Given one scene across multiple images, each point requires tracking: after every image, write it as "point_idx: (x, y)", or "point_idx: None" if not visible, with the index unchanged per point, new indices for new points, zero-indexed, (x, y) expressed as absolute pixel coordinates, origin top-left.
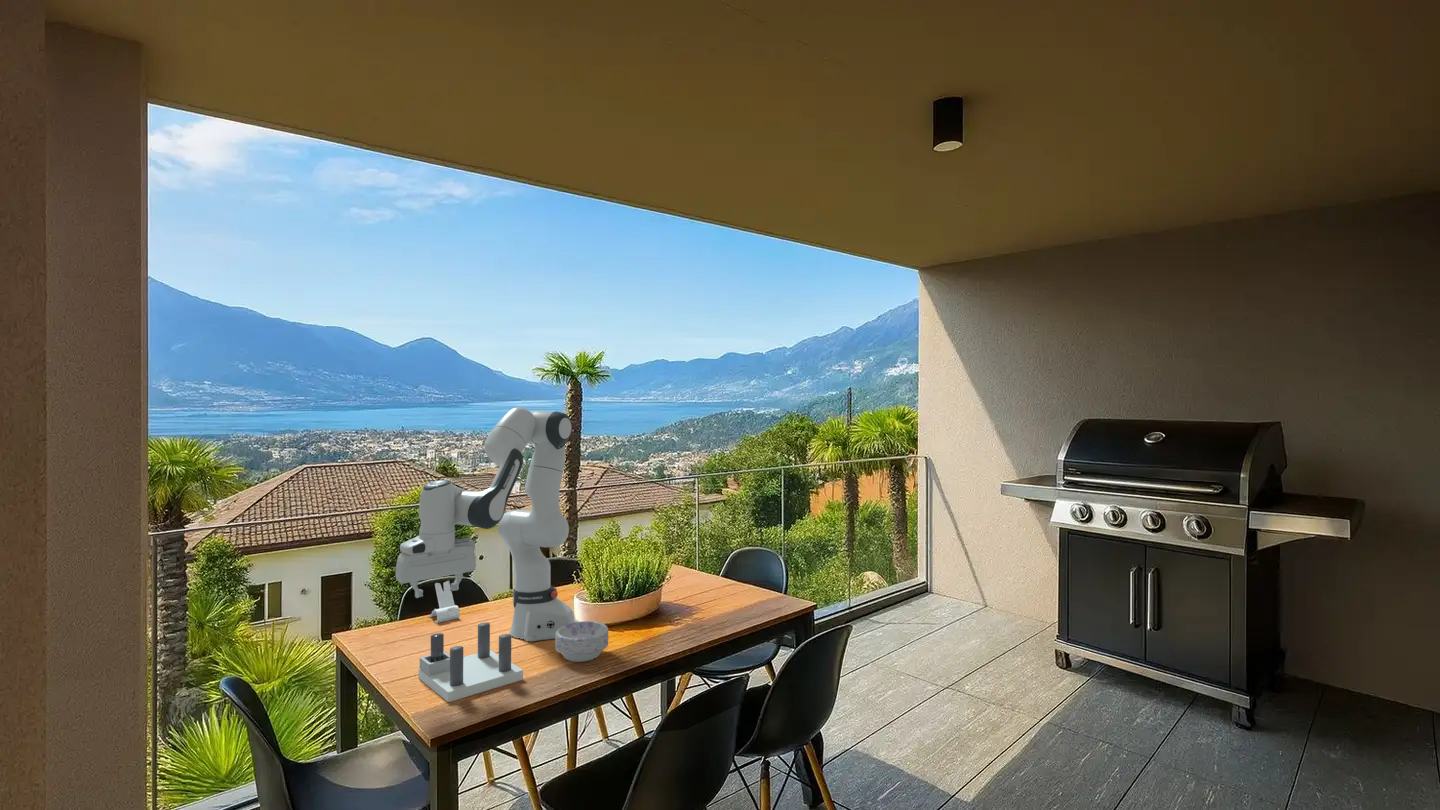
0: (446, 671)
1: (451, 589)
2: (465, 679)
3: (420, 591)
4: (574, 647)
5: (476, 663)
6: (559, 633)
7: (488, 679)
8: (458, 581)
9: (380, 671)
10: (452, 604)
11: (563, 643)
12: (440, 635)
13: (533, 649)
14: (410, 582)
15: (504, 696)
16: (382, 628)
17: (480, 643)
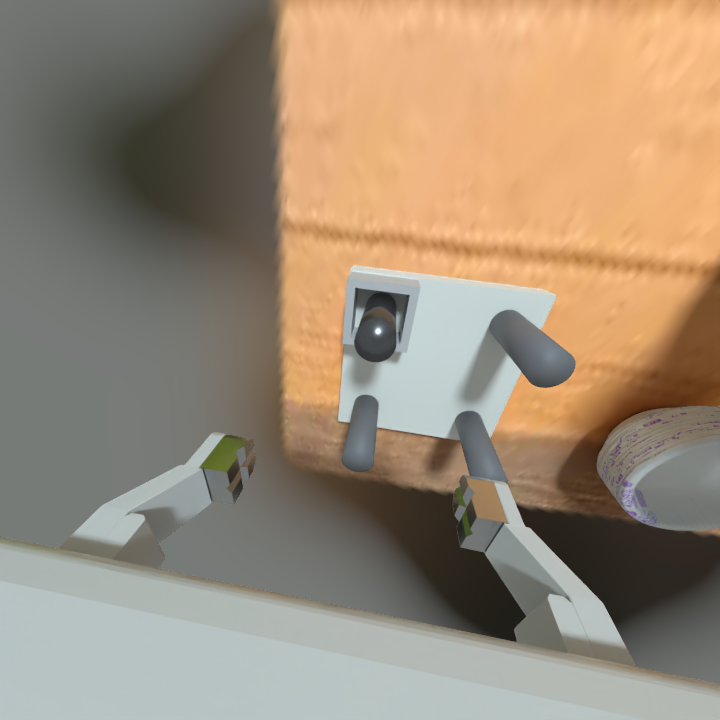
0: None
1: (460, 483)
2: (388, 401)
3: (219, 498)
4: (610, 490)
5: (460, 350)
6: (662, 462)
7: (415, 431)
8: (507, 577)
9: (299, 114)
10: None
11: (614, 476)
12: (381, 353)
13: (659, 323)
14: (83, 526)
15: (413, 452)
16: None
17: (504, 348)
